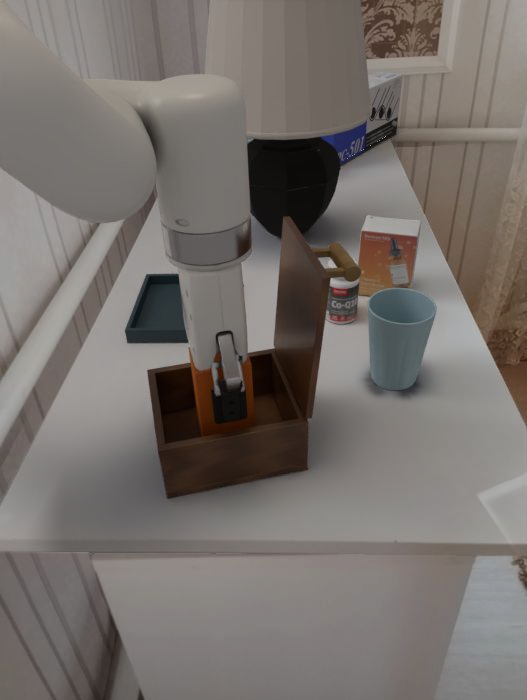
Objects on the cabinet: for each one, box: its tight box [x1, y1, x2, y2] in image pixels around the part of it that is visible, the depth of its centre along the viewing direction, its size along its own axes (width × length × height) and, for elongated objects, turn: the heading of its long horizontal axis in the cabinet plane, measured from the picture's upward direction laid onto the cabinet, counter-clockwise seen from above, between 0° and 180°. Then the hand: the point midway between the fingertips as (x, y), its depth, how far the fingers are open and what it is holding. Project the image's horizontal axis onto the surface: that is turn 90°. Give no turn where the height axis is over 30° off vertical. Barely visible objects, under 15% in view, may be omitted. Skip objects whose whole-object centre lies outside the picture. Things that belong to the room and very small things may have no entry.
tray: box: [124, 273, 188, 344], centre depth 86 cm, size 15×11×2 cm
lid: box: [273, 216, 361, 419], centre depth 59 cm, size 15×13×5 cm
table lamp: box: [204, 0, 372, 238], centre depth 95 cm, size 27×27×40 cm
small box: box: [357, 214, 422, 297], centre depth 87 cm, size 8×6×10 cm
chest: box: [146, 347, 310, 499], centre depth 64 cm, size 15×13×7 cm
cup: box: [366, 288, 438, 391], centre depth 71 cm, size 8×8×10 cm
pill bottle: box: [325, 257, 359, 325], centre depth 82 cm, size 5×5×8 cm
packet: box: [188, 346, 255, 437], centre depth 62 cm, size 6×4×11 cm
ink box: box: [321, 71, 403, 166], centre depth 137 cm, size 30×7×14 cm, turn 143°
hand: (222, 390), depth 61 cm, fingers open, 8 cm apart
